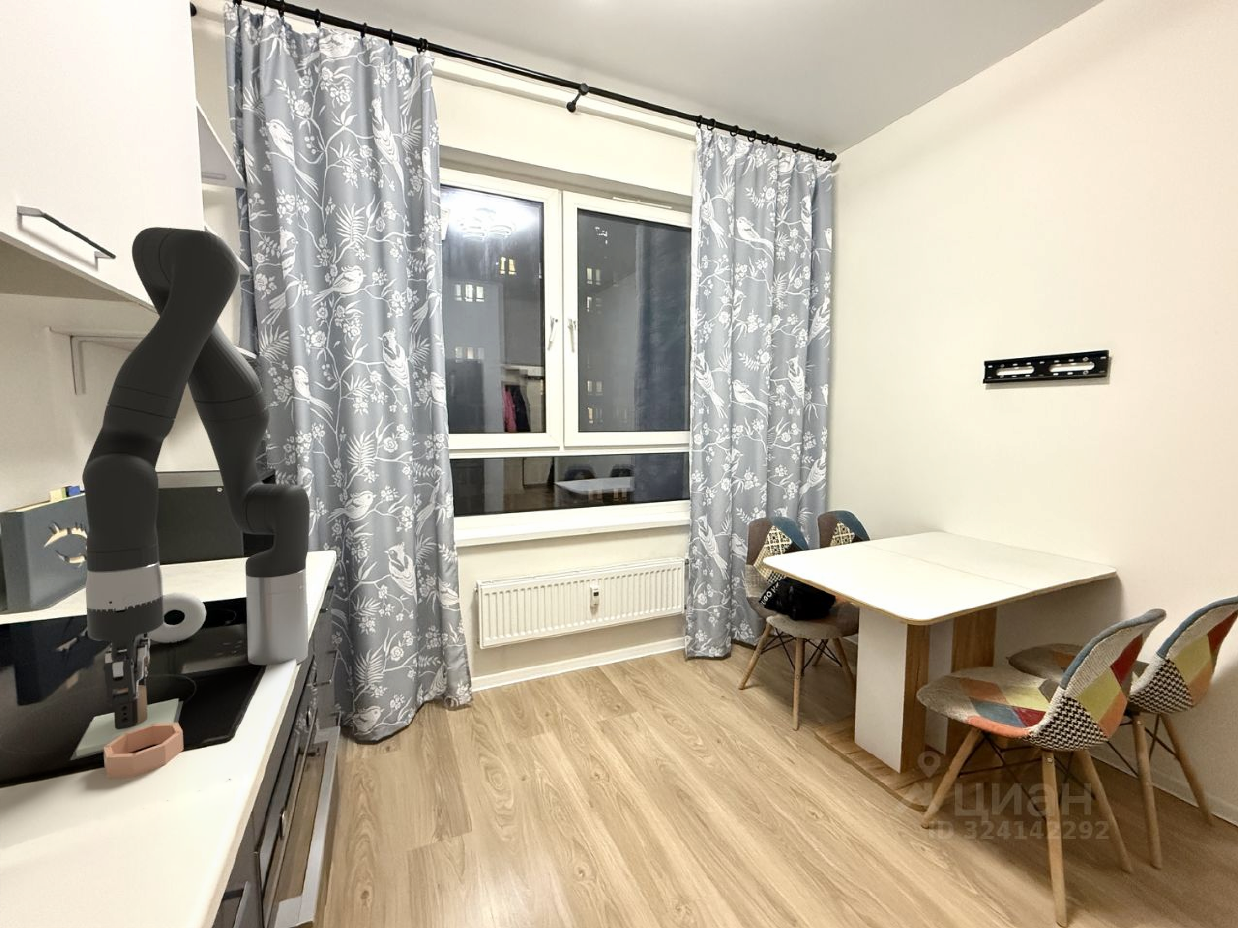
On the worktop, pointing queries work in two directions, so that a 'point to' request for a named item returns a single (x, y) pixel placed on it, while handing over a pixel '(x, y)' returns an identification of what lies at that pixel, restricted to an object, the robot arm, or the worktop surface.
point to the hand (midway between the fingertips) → (131, 715)
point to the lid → (106, 732)
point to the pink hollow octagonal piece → (134, 764)
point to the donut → (190, 624)
